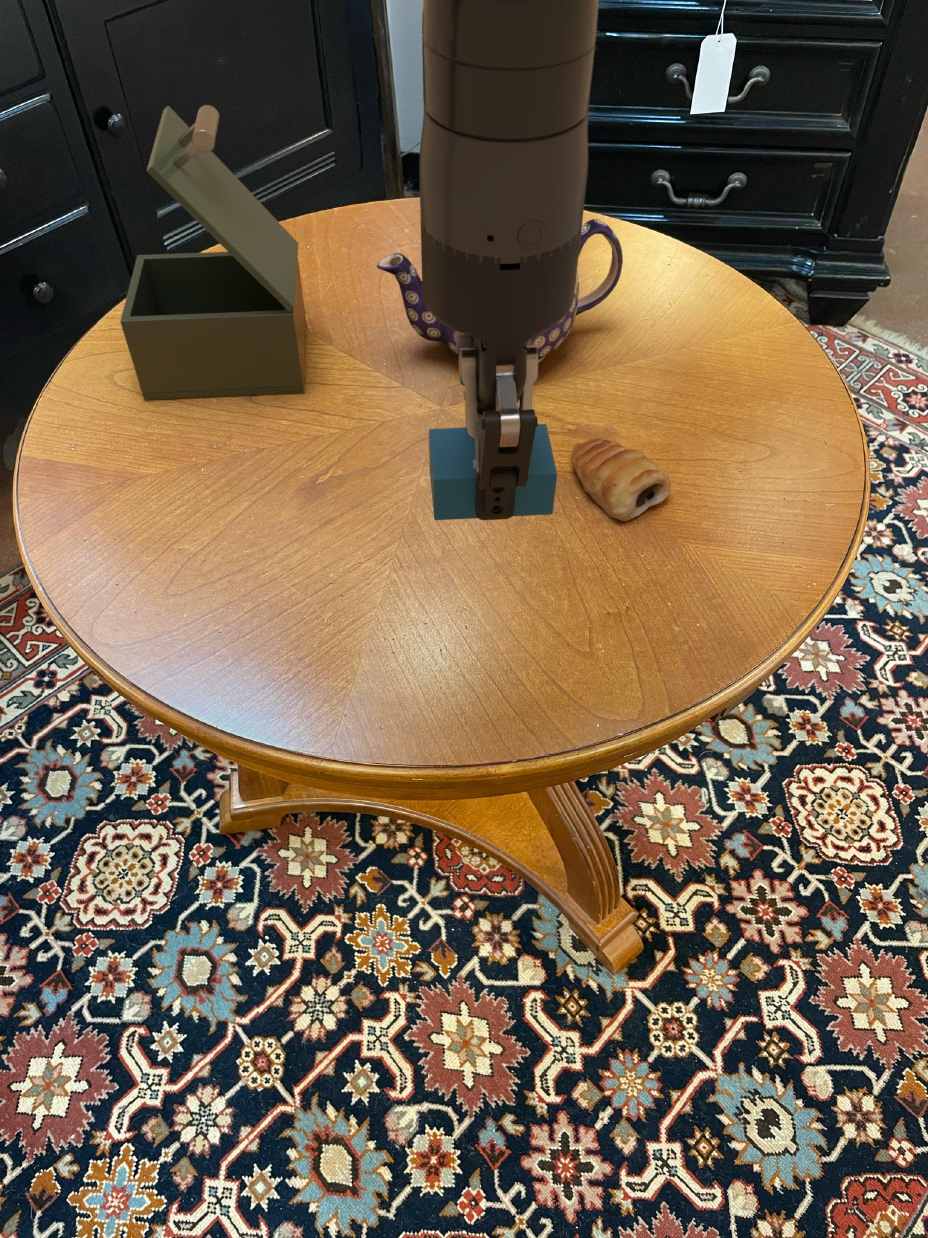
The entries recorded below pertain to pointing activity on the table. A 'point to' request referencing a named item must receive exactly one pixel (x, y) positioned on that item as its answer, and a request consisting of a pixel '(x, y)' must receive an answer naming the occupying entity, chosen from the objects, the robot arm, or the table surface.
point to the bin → (211, 329)
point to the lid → (223, 202)
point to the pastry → (619, 477)
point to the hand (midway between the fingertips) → (489, 485)
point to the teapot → (545, 340)
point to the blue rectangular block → (458, 477)
